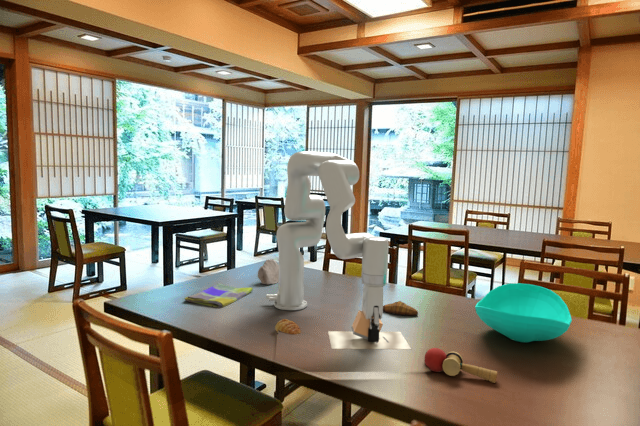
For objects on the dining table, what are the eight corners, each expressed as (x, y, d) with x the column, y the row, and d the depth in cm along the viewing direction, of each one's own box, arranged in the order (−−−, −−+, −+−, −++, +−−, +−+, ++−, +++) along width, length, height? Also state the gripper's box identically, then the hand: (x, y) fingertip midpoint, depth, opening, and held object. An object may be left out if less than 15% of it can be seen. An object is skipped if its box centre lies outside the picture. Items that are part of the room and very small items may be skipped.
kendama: (494, 379, 113) (425, 357, 120) (499, 359, 111) (429, 337, 118) (492, 398, 107) (420, 373, 113) (498, 377, 105) (424, 353, 111)
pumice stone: (266, 286, 189) (267, 264, 188) (254, 283, 193) (254, 261, 192) (288, 280, 201) (289, 259, 200) (276, 277, 206) (276, 256, 205)
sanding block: (353, 334, 127) (361, 315, 126) (351, 327, 132) (358, 310, 131) (374, 342, 127) (383, 324, 127) (371, 336, 132) (379, 318, 132)
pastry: (306, 337, 135) (306, 325, 134) (288, 342, 131) (288, 329, 130) (290, 327, 142) (290, 316, 142) (272, 332, 138) (272, 320, 138)
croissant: (379, 314, 158) (379, 301, 158) (383, 308, 164) (383, 296, 164) (416, 319, 154) (417, 306, 153) (419, 313, 160) (419, 300, 159)
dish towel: (254, 293, 180) (255, 286, 180) (220, 310, 158) (220, 302, 158) (220, 287, 187) (220, 281, 187) (182, 303, 165) (182, 296, 164)
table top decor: (566, 373, 115) (571, 325, 113) (460, 348, 129) (463, 305, 128) (571, 328, 148) (574, 291, 147) (486, 312, 163) (489, 278, 161)
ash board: (331, 353, 123) (331, 348, 122) (327, 335, 136) (328, 331, 135) (411, 354, 124) (411, 348, 124) (400, 336, 137) (400, 331, 137)
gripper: (357, 271, 136) (355, 327, 138) (366, 286, 119) (363, 349, 121) (381, 271, 136) (378, 327, 138) (393, 286, 119) (389, 349, 121)
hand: (371, 337), depth 130 cm, fingers closed on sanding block, 5 cm apart
